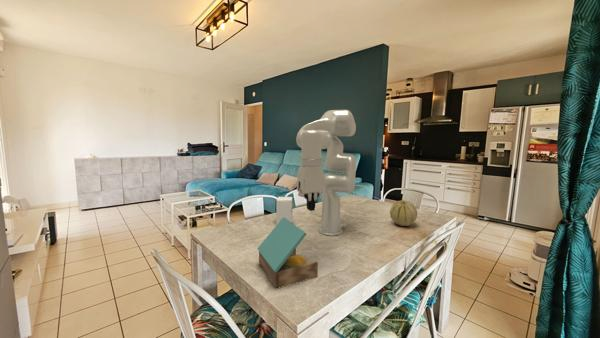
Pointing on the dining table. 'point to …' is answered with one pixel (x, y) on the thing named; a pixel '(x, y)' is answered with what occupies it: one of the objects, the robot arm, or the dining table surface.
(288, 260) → the bread roll
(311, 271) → the brown wooden box
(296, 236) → the lid
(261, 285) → the dining table surface
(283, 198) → the supplement box
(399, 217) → the cantaloupe
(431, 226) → the dining table surface
